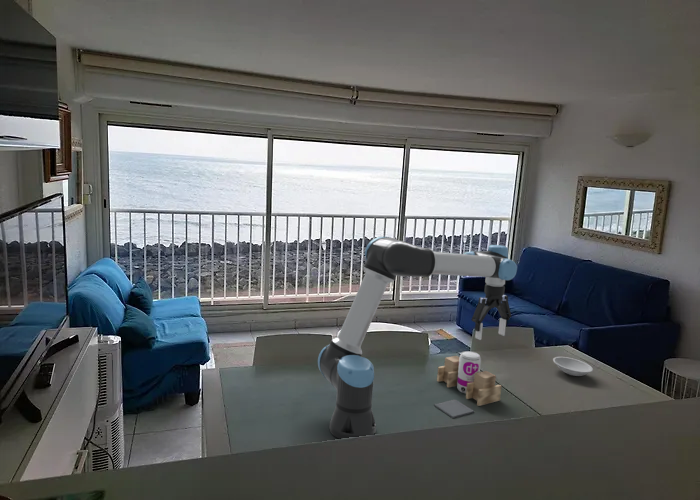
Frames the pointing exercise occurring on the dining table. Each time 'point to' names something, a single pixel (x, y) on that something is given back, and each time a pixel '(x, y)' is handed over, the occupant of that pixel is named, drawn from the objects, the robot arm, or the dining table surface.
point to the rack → (479, 389)
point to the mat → (454, 408)
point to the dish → (572, 366)
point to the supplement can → (467, 369)
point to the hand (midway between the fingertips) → (490, 336)
